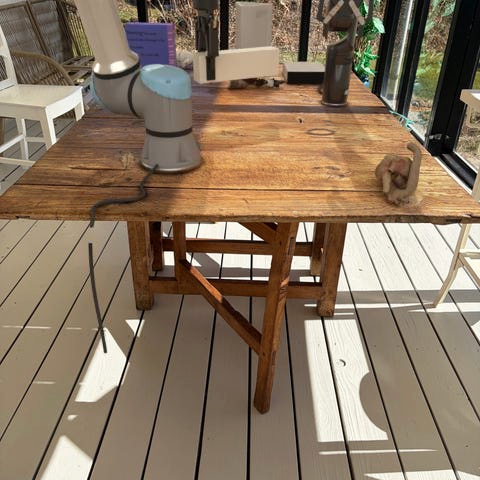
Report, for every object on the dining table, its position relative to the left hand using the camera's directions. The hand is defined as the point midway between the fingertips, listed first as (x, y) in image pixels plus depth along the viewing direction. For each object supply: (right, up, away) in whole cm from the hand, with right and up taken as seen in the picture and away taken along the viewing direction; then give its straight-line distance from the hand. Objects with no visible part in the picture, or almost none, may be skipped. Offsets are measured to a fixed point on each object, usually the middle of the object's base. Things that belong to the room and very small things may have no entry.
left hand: (207, 77), depth 149 cm
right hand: (+38, +3, -21) cm, 43 cm away
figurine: (+13, +11, +44) cm, 47 cm away
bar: (+9, +2, +4) cm, 10 cm away
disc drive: (+38, +20, +60) cm, 74 cm away
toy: (-15, +31, +76) cm, 84 cm away
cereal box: (-23, +9, +39) cm, 46 cm away
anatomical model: (+45, -40, -39) cm, 72 cm away
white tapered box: (+16, +26, +69) cm, 76 cm away
